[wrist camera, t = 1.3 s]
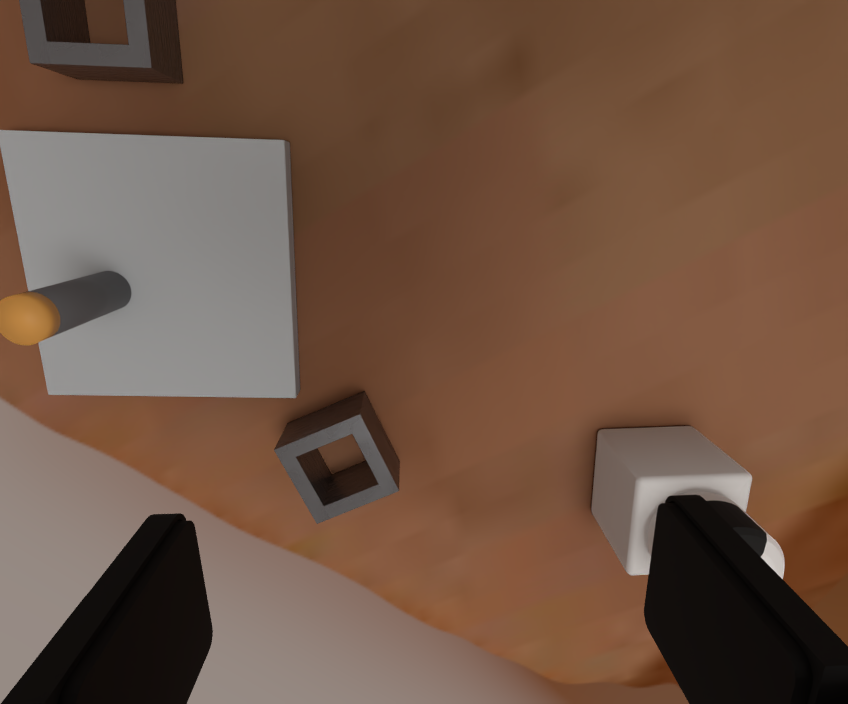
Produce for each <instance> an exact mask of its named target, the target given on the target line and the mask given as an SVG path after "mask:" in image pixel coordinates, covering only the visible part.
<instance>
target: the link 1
mask: <svg viewBox="0 0 848 704" xmlns="http://www.w3.org/2000/svg"><path fill="white" fill-rule="evenodd" d="M123 1H124V9H125V18H126V26H127V34H128V42H129V45H117V44H94V43H90V39H89V32H88V25H87V18H86V11H85V4H84V0H19V2H20V8H21V14H22V19H23V25H24V31H25V37H26V43H27V49H28V55H29V60H30V63H31V64H34V65H37V66H40V67H43V68H46V69H49V70H52V71H55V72H58V73H60V74H63V75H66V76H69V77H72V78H75V79H82V80H107V81H132V82H157V83H182V84H183V75H182V65H181V54H180V44H179V33H178V23H177V12H176V2H175V0H123Z"/></svg>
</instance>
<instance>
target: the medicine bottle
mask: <svg viewBox="0 0 848 704" xmlns="http://www.w3.org/2000/svg"><path fill="white" fill-rule="evenodd" d="M751 482H752V476H751V474H750V473H749V472H748V471H747V470H745V469H744V468H743V467H742V466H740V465H739V464H738V463H737V462H735V461H734V460H733V459H732V458H731V457H729V456H728V455H727V454H726V453H724V452H723V451H722V450H721V449H720V448H718V447H717V446H716V445H715V444H713V443H712V442H711V441H710V440H708V439H707V438H706V437H705V436H704V435H702V434H701V433H700V432H699V431H697V430H696V429H695V428H694V427H692V426H674V427H647V428H621V429H601V430H599V431H598V435H597V447H596V459H595V471H594V483H593V495H592V507H591V511H592V514H593V516H594V517H595V519H596V521H597V523H598V524H599V526H600V528H601V529H602V531H603V533H604V535H605V536H606V538H607V540H608V541H609V543H610V545H611V547H612V548H613V550H614V552H615V553H616V555H617V557H618V559H619V560H620V562H621V564H622V565H623V567H624V569H625V570H626V572H627V573H628V574H629V575H649V569H650V561H651V553H652V546H653V538H654V531H655V523H656V516H657V509H658V506H659V504H661V503H665V501H666V499H667V497H669V496H672V495H700V496H701V497H703V498H704V499H705V500H706V501H707V502H708V503H709V504H710V505H711V506H712V507H713V509H714V510H715V511H716V512H717V513H718V514H719V515H720V516H721V517H722V518H723V519H724V520H725V521H726V522H727V523H728V524H729V525H730V526H731V527H732V528H733V529H734V530H735V531H736V532H737V533H738V534H739V535H740V536H741V537H742V538H743V539H744V540H745V541H746V542H747V543H748V544H749V545H750V547H751V548H752V549H753V550H754V551H755V552H756V553H757V554H758V555H759V556H760V557H761V558H762V559H763V560H764V561H765V562H766V563H767V564H768V565H769V566H770V567H771V568H772V569H773V570H774V571H775V572H776V573H777V574H778V575H779V576H780V577H781V578H782V579H783V575H784V565H785V563H784V556H783V552H782V550H781V548H780V546H779V544H778V543H777V542H776V541H775V540H774V539H773V538H772V537H771V536H770V535H769V534H768V533H767V532H766V531H765V530H764V529H763V528H762V527H761V526H760V525H758V524H757V523H756V522H755V521H754V520H753V519H752V518H751V517H750V516H749V515H748V514H747V513H746V509H747V503H748V498H749V492H750V487H751Z"/></svg>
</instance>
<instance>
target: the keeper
mask: <svg viewBox="0 0 848 704" xmlns="http://www.w3.org/2000/svg"><path fill="white" fill-rule="evenodd" d="M0 147H1V152H2V158H3V163H4V168H5V173H6V178H7V183H8V188H9V194H10V199H11V204H12V209H13V214H14V219H15V225H16V230H17V235H18V240H19V245H20V250H21V255H22V261H23V266H24V271H25V276H26V281H27V286H28V292H24V293H20V294H16V295H13V296H9V297H6V298H4V299H2V300H1V301H0V333H1V334H2V335H3V336H4V337H5V338H6V339H8V340H9V341H11V342H13V343H16V344H19V345H32V344H35V343H39V348H40V353H41V358H42V364H43V369H44V374H45V379H46V384H47V389H48V395H112V396H185V397H257V398H296V397H297V395H298V393H299V391H300V375H299V351H298V327H297V304H296V280H295V257H294V233H293V209H292V186H291V162H290V142H287V141H285V140H266V139H238V138H210V137H182V136H153V135H125V134H97V133H69V132H40V131H12V130H0Z"/></svg>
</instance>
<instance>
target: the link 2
mask: <svg viewBox="0 0 848 704" xmlns="http://www.w3.org/2000/svg"><path fill="white" fill-rule="evenodd" d="M350 434H353V436H354V438H355V440H356V441H357V443H358V445H359V447H360V449H361V451H362V453H363V455H364V457H365V459H366V461H365V462H363V463H360V464H358V465H355V466H353V467H350V468H348V469H345V470H343V471H340V472H338V473H336V474H333V475H331V473H330V471H329V469H328V467H327V466H326V464H325V462H324V460H323V458H322V457H321V455H320V453H319V451H318V449H317V448H319V447H321V446H323V445H326V444H328V443H331V442H333V441H336V440H338V439H340V438H343V437H345V436H348V435H350ZM274 451H275V452H276V454H277V456H278V458H279V459H280V461H281V463H282V464H283V466H284V468H285V470H286V471H287V473H288V475H289V477H290V478H291V480H292V482H293V483H294V485H295V487H296V489H297V490H298V492H299V494H300V495H301V497H302V499H303V501H304V502H305V504H306V506H307V508H308V509H309V511H310V513H311V514H312V516H313V518H314V520H315V521H316V523H317V524H318V523H320V522H323V521H325V520H328V519H330V518H333V517H335V516H338V515H340V514H343V513H345V512H348V511H350V510H353V509H355V508H358V507H360V506H363V505H365V504H368V503H370V502H373V501H375V500H378V499H380V498H383V497H385V496H388V495H390V494H393V493H395V492H398V491H399V468H400V461H399V459H398V457H397V455H396V453H395V451H394V449H393V447H392V445H391V443H390V441H389V439H388V437H387V435H386V433H385V431H384V429H383V427H382V425H381V423H380V421H379V419H378V417H377V415H376V413H375V411H374V409H373V407H372V405H371V403H370V401H369V399H368V397H367V395H366V393H365V391H363V392H361V393H358V394H356V395H354V396H351V397H349V398H346V399H344V400H342V401H339V402H337V403H335V404H332V405H330V406H327V407H325V408H323V409H320V410H318V411H316V412H313V413H311V414H308V415H306V416H304V417H301V418H299V419H296V420H294V421H292V422H289V423H287V425H286V427H285V429H284V431H283V433H282V435H281V437H280V439H279V441H278V443H277V445H276V447H275V449H274Z"/></svg>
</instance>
